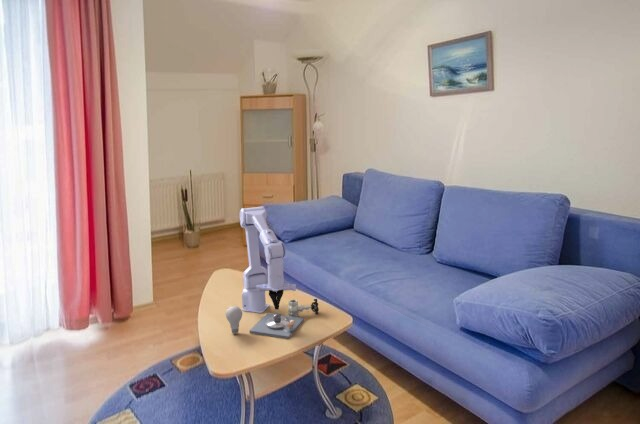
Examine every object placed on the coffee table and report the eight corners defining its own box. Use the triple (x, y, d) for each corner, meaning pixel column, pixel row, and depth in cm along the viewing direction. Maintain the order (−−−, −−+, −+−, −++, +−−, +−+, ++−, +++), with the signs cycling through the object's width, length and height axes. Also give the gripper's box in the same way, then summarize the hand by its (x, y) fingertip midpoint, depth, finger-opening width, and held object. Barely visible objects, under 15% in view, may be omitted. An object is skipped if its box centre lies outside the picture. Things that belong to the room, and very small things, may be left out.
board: (249, 333, 172) (249, 323, 171) (267, 315, 187) (267, 306, 186) (288, 339, 167) (288, 328, 166) (303, 320, 182) (303, 311, 181)
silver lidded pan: (261, 323, 177) (260, 314, 176) (279, 316, 183) (279, 307, 182) (282, 335, 167) (282, 325, 166) (301, 327, 173) (300, 318, 172)
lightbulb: (235, 339, 167) (234, 311, 165) (223, 335, 171) (221, 308, 168) (246, 332, 172) (245, 305, 170) (234, 328, 176) (233, 302, 173)
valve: (289, 320, 182) (318, 317, 184) (289, 305, 181) (318, 302, 183) (287, 313, 189) (316, 310, 191) (287, 298, 187) (315, 295, 189)
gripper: (254, 278, 164) (256, 313, 167) (294, 277, 164) (295, 312, 167) (257, 271, 171) (258, 305, 174) (295, 271, 171) (296, 304, 174)
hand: (276, 308), depth 171 cm, fingers closed
